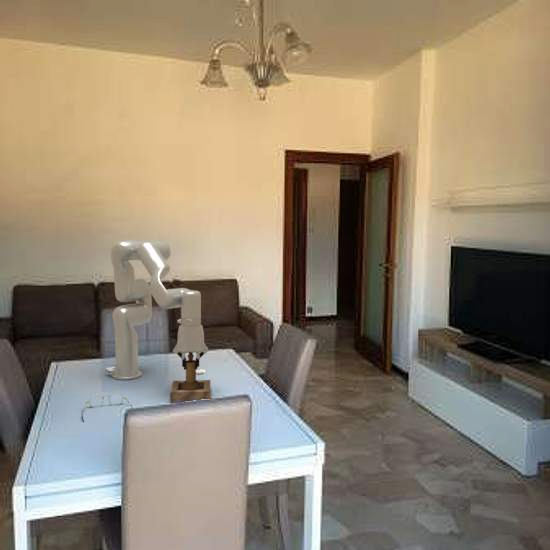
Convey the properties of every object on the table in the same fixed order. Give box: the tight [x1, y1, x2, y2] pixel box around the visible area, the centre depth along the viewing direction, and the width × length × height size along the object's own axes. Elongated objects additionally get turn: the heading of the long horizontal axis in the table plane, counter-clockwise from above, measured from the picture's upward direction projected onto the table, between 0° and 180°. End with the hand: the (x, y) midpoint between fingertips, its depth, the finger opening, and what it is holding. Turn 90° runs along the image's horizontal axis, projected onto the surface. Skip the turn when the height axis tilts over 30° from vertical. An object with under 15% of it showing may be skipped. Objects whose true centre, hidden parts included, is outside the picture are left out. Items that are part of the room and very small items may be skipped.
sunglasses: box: [81, 392, 134, 423], centre depth 184 cm, size 17×15×5 cm
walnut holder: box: [169, 379, 211, 404], centre depth 203 cm, size 15×15×4 cm
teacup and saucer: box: [196, 362, 207, 375], centre depth 237 cm, size 9×8×4 cm
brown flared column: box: [182, 352, 199, 390], centre depth 202 cm, size 7×6×18 cm
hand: (190, 368), depth 202 cm, fingers closed on brown flared column, 3 cm apart
